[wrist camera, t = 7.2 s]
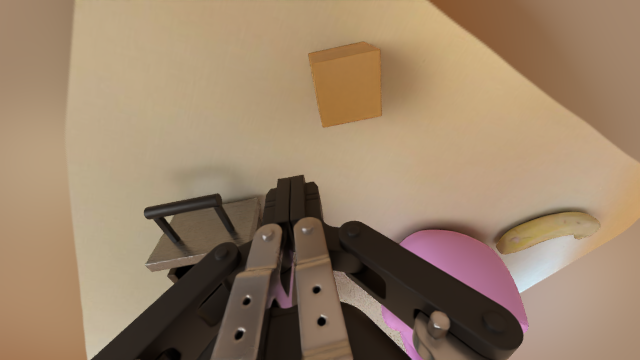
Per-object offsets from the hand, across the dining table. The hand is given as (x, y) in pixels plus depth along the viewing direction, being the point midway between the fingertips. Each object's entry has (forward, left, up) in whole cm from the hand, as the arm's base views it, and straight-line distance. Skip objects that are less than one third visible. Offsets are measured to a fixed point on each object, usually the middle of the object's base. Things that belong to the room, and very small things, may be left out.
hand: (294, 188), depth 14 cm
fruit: (+38, -22, -13) cm, 45 cm away
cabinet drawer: (-10, -15, -11) cm, 21 cm away
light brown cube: (+5, +3, -12) cm, 14 cm away
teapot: (+20, -27, -13) cm, 35 cm away
